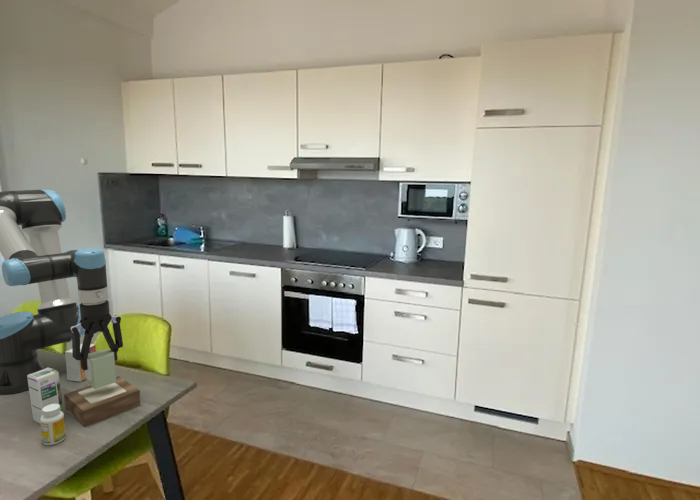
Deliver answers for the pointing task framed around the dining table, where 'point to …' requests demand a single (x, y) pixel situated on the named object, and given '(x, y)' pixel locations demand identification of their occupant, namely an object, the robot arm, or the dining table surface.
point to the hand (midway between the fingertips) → (100, 374)
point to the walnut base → (101, 401)
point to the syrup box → (44, 391)
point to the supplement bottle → (52, 425)
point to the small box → (76, 365)
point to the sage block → (102, 368)
